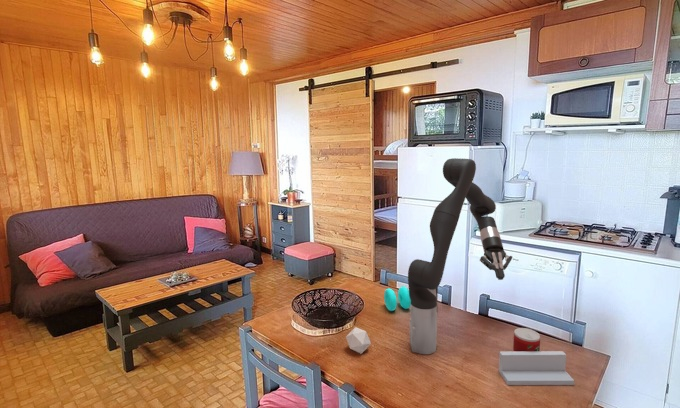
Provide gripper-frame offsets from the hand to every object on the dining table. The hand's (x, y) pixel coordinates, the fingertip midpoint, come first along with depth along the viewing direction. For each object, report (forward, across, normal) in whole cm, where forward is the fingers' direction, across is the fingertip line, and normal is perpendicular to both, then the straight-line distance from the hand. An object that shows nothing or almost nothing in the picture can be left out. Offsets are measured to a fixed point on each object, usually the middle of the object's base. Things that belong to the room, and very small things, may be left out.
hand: (501, 278), depth 141 cm
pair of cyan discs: (+2, -38, +29) cm, 48 cm away
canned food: (+31, 0, -1) cm, 31 cm away
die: (+25, -56, +6) cm, 62 cm away
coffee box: (+2, -24, +29) cm, 38 cm away
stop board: (+36, 0, -6) cm, 37 cm away
